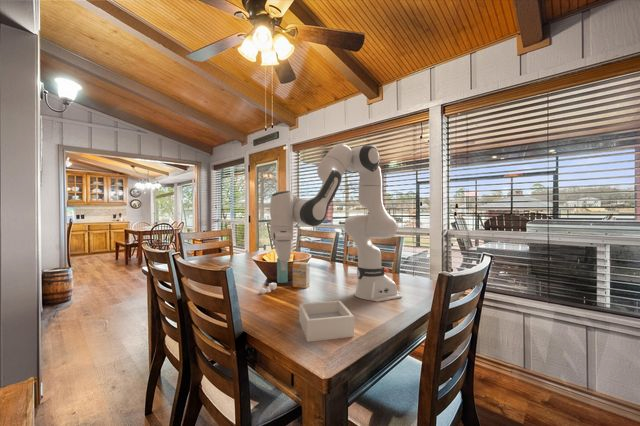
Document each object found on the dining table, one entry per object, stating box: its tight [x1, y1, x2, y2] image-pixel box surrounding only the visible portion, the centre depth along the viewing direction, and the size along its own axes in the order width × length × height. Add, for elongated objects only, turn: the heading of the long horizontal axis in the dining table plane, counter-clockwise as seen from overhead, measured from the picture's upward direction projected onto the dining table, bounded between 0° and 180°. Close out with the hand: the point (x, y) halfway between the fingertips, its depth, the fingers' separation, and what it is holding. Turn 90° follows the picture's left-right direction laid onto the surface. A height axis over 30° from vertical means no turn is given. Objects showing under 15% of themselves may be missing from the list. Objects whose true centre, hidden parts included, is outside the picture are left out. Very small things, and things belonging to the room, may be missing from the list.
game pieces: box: [259, 282, 278, 295], centre depth 147 cm, size 12×3×3 cm, turn 157°
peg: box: [276, 257, 289, 284], centre depth 112 cm, size 4×4×9 cm
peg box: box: [299, 300, 355, 343], centre depth 103 cm, size 16×16×7 cm
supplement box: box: [292, 261, 311, 289], centre depth 154 cm, size 8×5×13 cm, turn 70°
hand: (282, 268), depth 112 cm, fingers closed on peg, 4 cm apart
